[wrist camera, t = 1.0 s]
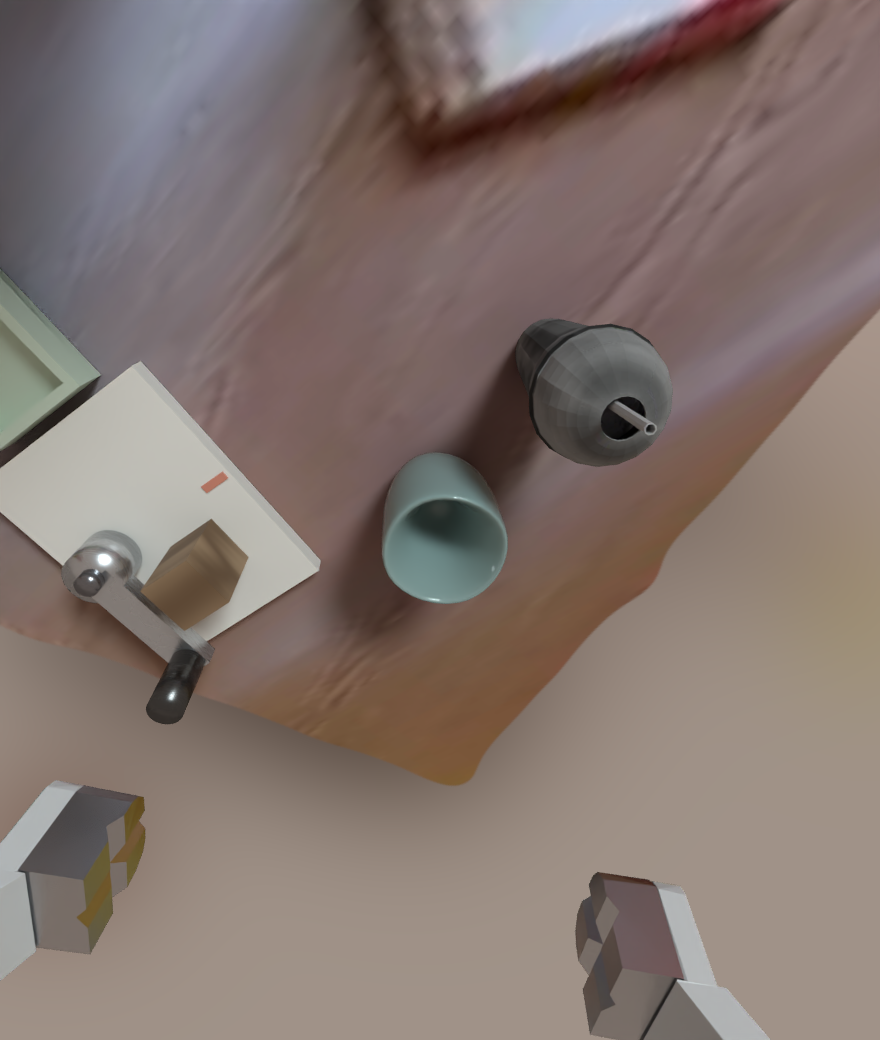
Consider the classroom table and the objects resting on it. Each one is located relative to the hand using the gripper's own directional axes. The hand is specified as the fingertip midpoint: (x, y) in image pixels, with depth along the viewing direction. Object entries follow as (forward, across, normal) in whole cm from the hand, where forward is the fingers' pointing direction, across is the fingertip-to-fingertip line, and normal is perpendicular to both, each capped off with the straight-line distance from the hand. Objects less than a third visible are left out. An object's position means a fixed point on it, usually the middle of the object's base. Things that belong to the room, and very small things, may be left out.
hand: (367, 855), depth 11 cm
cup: (+36, 0, +6) cm, 36 cm away
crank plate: (+33, +19, +12) cm, 40 cm away
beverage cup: (+36, -6, -5) cm, 37 cm away
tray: (+32, +29, +1) cm, 43 cm away
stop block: (+32, +15, +13) cm, 38 cm away
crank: (+31, +19, +17) cm, 41 cm away
